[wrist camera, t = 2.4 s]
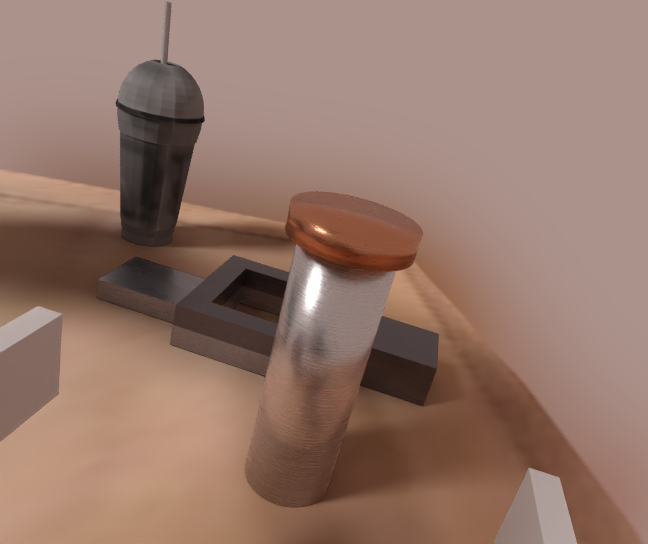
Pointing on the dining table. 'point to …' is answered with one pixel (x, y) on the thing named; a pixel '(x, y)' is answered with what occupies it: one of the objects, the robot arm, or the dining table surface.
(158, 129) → the beverage cup
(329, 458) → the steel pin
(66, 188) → the dining table surface
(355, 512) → the dining table surface
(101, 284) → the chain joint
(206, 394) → the dining table surface
